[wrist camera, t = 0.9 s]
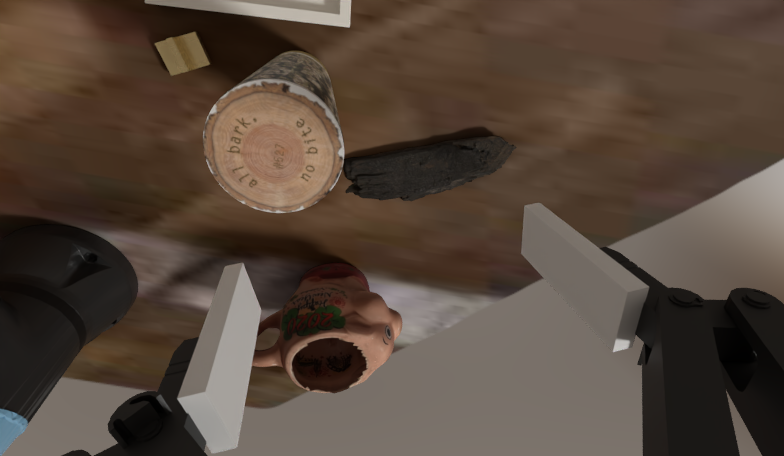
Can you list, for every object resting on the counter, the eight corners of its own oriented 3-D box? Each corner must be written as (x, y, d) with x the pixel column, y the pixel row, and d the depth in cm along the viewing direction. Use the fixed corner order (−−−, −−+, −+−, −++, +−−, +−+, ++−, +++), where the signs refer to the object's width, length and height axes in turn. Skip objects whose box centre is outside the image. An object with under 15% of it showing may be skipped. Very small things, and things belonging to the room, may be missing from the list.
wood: (349, 211, 49) (351, 222, 46) (338, 158, 45) (340, 166, 43) (508, 180, 51) (519, 188, 48) (510, 126, 47) (521, 132, 45)
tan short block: (175, 74, 38) (165, 77, 36) (159, 42, 36) (147, 43, 34) (213, 63, 38) (205, 66, 36) (198, 31, 37) (189, 31, 34)
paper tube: (263, 109, 41) (201, 203, 19) (269, 42, 38) (203, 62, 16) (325, 122, 42) (332, 221, 21) (335, 58, 40) (356, 97, 18)
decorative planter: (266, 336, 56) (252, 422, 44) (238, 272, 50) (212, 351, 38) (395, 306, 57) (416, 381, 45) (383, 241, 51) (403, 306, 39)
